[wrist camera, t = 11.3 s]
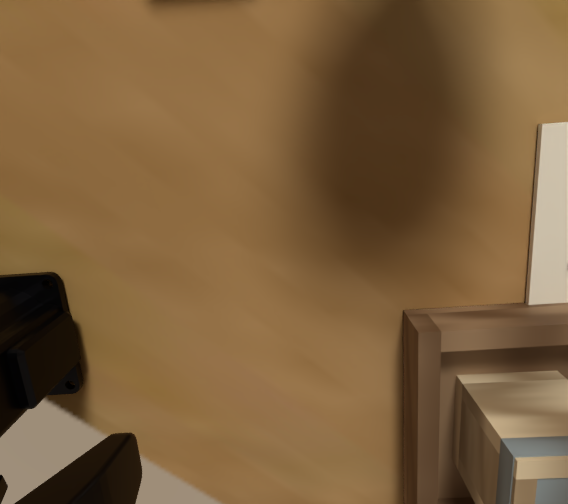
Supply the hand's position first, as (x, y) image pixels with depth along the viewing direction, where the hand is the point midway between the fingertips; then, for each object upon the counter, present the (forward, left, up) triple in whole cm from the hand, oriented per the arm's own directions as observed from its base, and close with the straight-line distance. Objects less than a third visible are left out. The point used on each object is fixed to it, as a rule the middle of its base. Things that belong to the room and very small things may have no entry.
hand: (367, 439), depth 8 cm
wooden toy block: (+9, -9, -12) cm, 18 cm away
